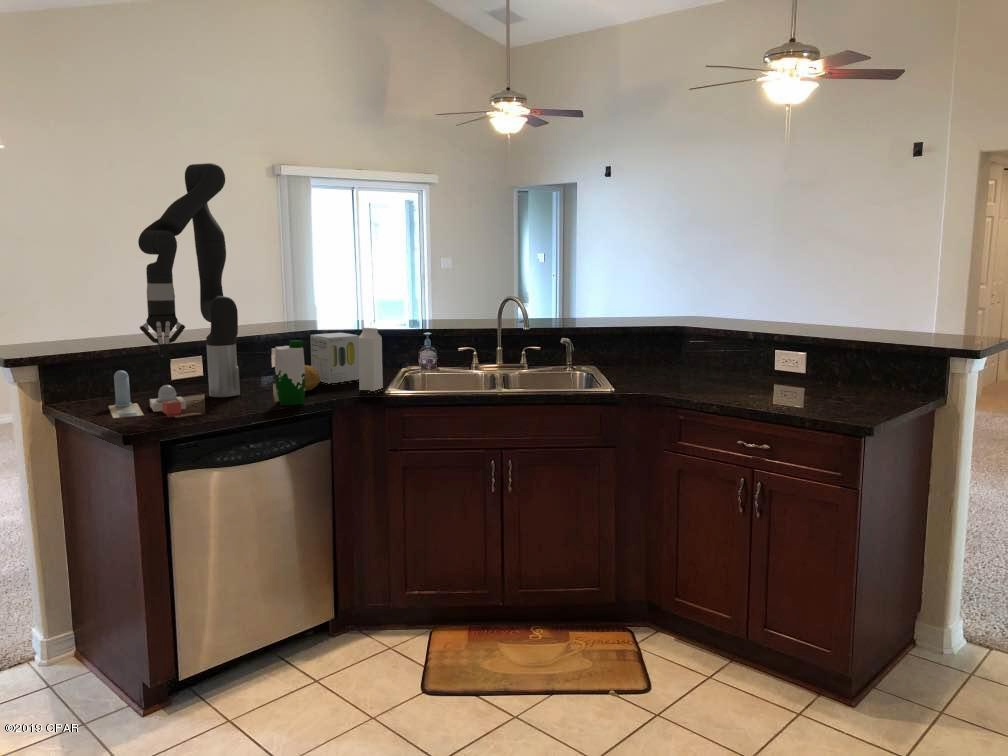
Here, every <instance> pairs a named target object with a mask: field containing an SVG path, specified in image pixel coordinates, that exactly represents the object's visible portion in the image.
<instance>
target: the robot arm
mask: <svg viewBox="0 0 1008 756" xmlns="http://www.w3.org/2000/svg"><path fill="white" fill-rule="evenodd" d="M225 184H226V174H225V171H224V170H223V168H222V167H221V166H220V165H219V164H218V163H217V164H216V163H211V162H209V163H208V162H207V163H194V164H193V163H192V164H189V165H188V166H186V168H185V171H184V185H185V189H186V194H184V195H182V196H181V197H179V198H177V199H176V200H175V201H173V202H172V203H171V204H170V205H169V206H168V207H167V209H166V210H165V211H164V213H163V214H162V215H161V216H160V217H159V219H157V220H155V221H153V222H152V223H151V224H149V225H148V226H146V227H145V228H144V229H143V230H142V232H141V233H140V234H139V237H138V240H137V241H138V242H137V243H138V248H139V249H140V251H141V252H143V253H144V254H146V255H156V256H157V258H156V261H154V262H151V263H149V264H147V265H146V271H145V272H146V304H147V305H146V306H147V318H146V322H145V323H144V324H142V325H140V326H139V329H140V331H141V332H143V334H144V335H145V336H146V337H147V338H148V339H149V340H150V341H151V342H152V343H155V344H157V345H158V354H159V355H160V356H161V357H162V358H165V357H168V355H170V344H171V343H174V342H176V341H177V339H178V337H179V336H180V335H181V334H182V333H183V331H184V330H185V329H186V325H184V324H183V323H181V322H180V321H179V319H178V317H177V316H176V299H175V298H176V295H175V288H174V278H173V277H174V276H173V268H174V265H175V264H174V263H175V259H176V254H177V250H178V242H177V238H176V237H177V236H178V235H180V234H182V232H183V231H184V230H185V228H186V227H187V225H189V223H190V221H192V226H193V234H194V244H195V245H194V246H195V254H196V259H197V260H196V261H197V262H196V263H197V268H198V269H197V270H198V277H199V296H200V297H199V305H200V312H201V313H200V314H201V316H202V317H203V319H204V320H205V321H207V322H208V323H210V333H209V334H208V335H207V336H206V337H205V338H206V341H205V342H206V356H207V362H206V363H207V375H208V376H207V377H208V393H209V395H208V396H209V397H212V398H229V397H235V396H240V395H241V389H240V388H241V387H240V369H239V366H238V360H237V359H238V358H237V357H238V356H237V338H238V333H239V320H238V319H239V314H238V308H237V304H236V303H235V301H234V299H232V298H231V297H229V296H225V295H224V292H223V291H224V290H223V285H222V283H223V282H222V279H223V271H224V269H225V265H226V260H227V246H226V240H225V239H226V238H225V234H224V232H223V230H222V228H221V226H220V224H219V223H218V222H217V220H216V219H215V217H214V215H213V214H212V213H211V210H210V207H209V202H210V201H211V200H212V199H213V198H214V197H215V196H217V195H218V193H220V192H221V191H222V189H223V188H224V186H225ZM149 327H150V328H151V329H152V330H153V332H155V333H156V335H155V336H156V337H154V336H153V334H151V332H150V331H149V330H150V328H149ZM174 328H175V329H176V330H175V332H174V333H173V334H172V335H171V336H170V333H171V332H172V331H173V329H174Z"/></svg>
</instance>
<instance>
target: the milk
mask: <svg viewBox="0 0 1008 756" xmlns="http://www.w3.org/2000/svg"><path fill="white" fill-rule="evenodd" d="M361 331H362V332H361V334H359V335H358V351H359V381H358V382H359V384H358V385H359V390H370V391H375V390H378V389H381V388H384V384H383V383H384V382H383V377H384V376H383V340H382V338H383V337H382V336H381V334H379V332H378V328H374V327H362V328H361Z"/></svg>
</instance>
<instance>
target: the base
mask: <svg viewBox="0 0 1008 756" xmlns="http://www.w3.org/2000/svg"><path fill="white" fill-rule="evenodd" d="M176 399H177V401H179V402H181V410H187V401H186V400H185V399H184V398H183V397H182V396H176ZM149 406H150V408H151V409H152V411H153V413H154V412H163V408H162V403H159V399H158V398H149Z"/></svg>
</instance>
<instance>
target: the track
mask: <svg viewBox="0 0 1008 756" xmlns="http://www.w3.org/2000/svg"><path fill="white" fill-rule="evenodd" d="M108 409H109V411H110V414H111V416H112V419H116V421H121V420H120V419H121V418H127V420H132V419H131V418H132V417H137V419H144V418H145V417H144V416H145V414H144V413H143V411H142V409H141V407H140V405H139V404H138V403H132V406H129V407H115V404H113V405H108ZM140 416H141V417H140Z"/></svg>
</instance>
